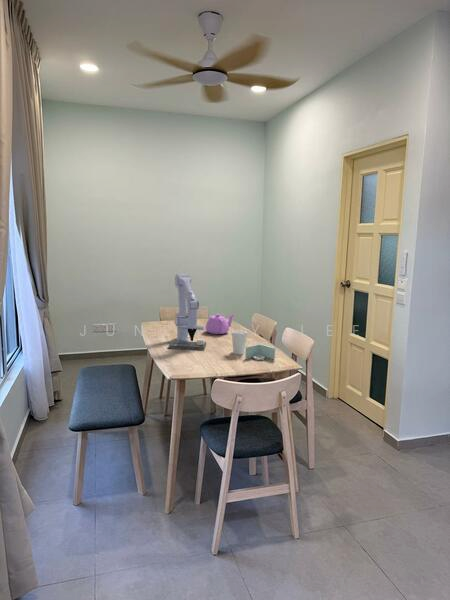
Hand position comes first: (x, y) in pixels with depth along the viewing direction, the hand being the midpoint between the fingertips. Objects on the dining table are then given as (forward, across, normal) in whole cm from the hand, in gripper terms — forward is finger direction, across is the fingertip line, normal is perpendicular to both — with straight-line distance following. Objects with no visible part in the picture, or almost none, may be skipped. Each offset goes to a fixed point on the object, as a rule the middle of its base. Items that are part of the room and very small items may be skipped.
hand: (191, 340), depth 258 cm
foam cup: (+4, +30, -8) cm, 31 cm away
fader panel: (+4, -2, 0) cm, 5 cm away
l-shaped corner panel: (+5, +42, -20) cm, 47 cm away
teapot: (+5, +16, +44) cm, 47 cm away
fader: (+2, +6, 0) cm, 6 cm away
